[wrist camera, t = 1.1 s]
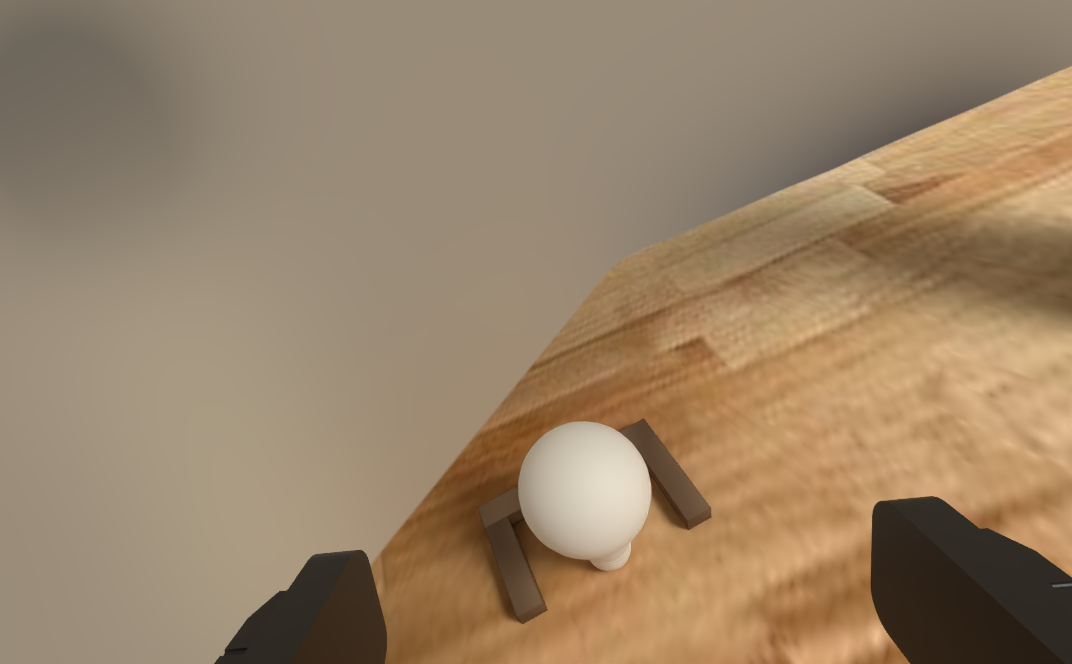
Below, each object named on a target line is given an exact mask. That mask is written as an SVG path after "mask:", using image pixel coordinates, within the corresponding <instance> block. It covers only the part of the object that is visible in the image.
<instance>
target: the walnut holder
mask: <svg viewBox="0 0 1072 664" xmlns="http://www.w3.org/2000/svg"><path fill="white" fill-rule="evenodd" d="M619 432H620V433H621V434H622V435H624V436H625V437H626V438H627V439H628V440H629V441H630V442H631V443H633V445H634V446H635V448H636V449H637V450H638V452H639V453H640V454H641V456H642V457H643V460H644V462H645V464H646V466H647V468H648V471H649V473H650V474H651V476H652V477H653V479H654V480H655V482H656V483H657V485H658V486H659V487H660V489H661V490H662V492H663V493H664V495H665V496H666V498H667V499H668V501H669V502H670V503H671V505H672V506H673V508H674V509H675V511H676V512H677V514H678V515H679V517H680V518H681V519H682V521H683V522H684V524H685V525H686V527H687V528H688V530H689V529H691V528H693V527H695V526H697V525H698V524H700V523H702V522H704V521H705V520H707V519H709V518H711V507H710V506H709V505H708V503H707V502H706V501H705V499H704V498H703V497H702V495H701V494H700V493H699V491H698V490H697V489H696V487H695V486H694V485H693V483H692V482H691V481H690V479H689V478H688V477H687V475H686V474H685V473H684V471H683V470H682V469H681V467H680V466H679V465H678V463H677V462H676V461H675V459H674V458H673V457H672V455H671V454H670V453H669V451H668V450H667V449H666V447H665V446H664V445H663V443H662V442H661V441H660V439H659V438H658V437H657V435H656V434H655V433H654V431H653V430H652V429H651V427H650V426H649V425H648V423H647V422H646V421H645V419H642V420H640V421H638V422H636V423H634V424H632V425H631V426H629V427H627V428H625V429H623V430H621V431H619ZM477 508H478V510H479V513H480V516H481V519H482V522H483V524H484V527H485V530H486V533H487V535H488V538H489V541H490V544H491V547H492V549H493V552H494V555H495V558H496V561H497V563H498V566H499V569H500V572H501V574H502V577H503V580H504V583H505V586H506V588H507V591H508V594H509V597H510V599H511V602H512V605H513V608H514V611H515V613H516V616H517V618H518V619H519V620H520V621H521V622H522V623H523V624H524V623H526V622H527V621H529V620H531V619H533V618H534V617H536V616H538V615H540V614H541V613H543V612H545V611H547V607H546V605H545V602H544V600H543V597H542V595H541V593H540V590H539V588H538V585H537V583H536V580H535V578H534V575H533V573H532V570H531V568H530V566H529V563H528V561H527V558H526V556H525V553H524V551H523V548H522V546H521V543H520V541H519V538H518V536H517V534H516V531H515V529H514V526H513V524H514V523H516V522H518V521H520V520H521V519H523V518H524V516H523V514H522V511H521V506H520V502H519V496H518V486H516V487H515V488H513V489H511V490H509V491H507V492H505V493H503V494H501V495H500V496H498V497H496V498H494V499H492V500H490V501H488V502H486V503H485V504H483V505H481V506H479V507H477Z"/></svg>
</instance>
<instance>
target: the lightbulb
mask: <svg viewBox="0 0 1072 664" xmlns="http://www.w3.org/2000/svg"><path fill="white" fill-rule="evenodd" d="M518 496H519V502H520V506H521V511H522V514H523V516H524V518H525V521H526V523H527V525H528V526H529V528H530V529H531V531H532V532H533V533H534V535H535V536H536V537H537V538H538V539H539V540H540V541H541V542H542V543H543V544H544V545H546V546H547V547H548V548H550V549H552V550H554V551H556V552H558V553H559V554H561V555H563V556H566V557H570V558H574V559H582V560H590V562H591V563H592V564H593V565H594V566H595V567H597V568H599V569H601V570H604V571H613V570H616V569H619V568H620V567H622V566H623V565H624V564H625V563H626V562H627V560H628V558H629V556H630V552H631V543H630V542H631V541H632V540H633V539H634V538H635V537H636V535H637V534H638V533H639V531H640V530H641V529H642V527H643V524H644V522H645V520H646V518H647V515H648V511H649V507H650V502H651V482H650V478H649V473H648V468H647V466H646V464H645V462H644V460H643V457H642V456H641V454H640V453H639V452H638V450H637V449H636V448H635V446H634V445H633V443H631V442H630V441H629V440H628V439H627V438H626V437H625V436H624V435H622V434H621V433H620V432H618V431H616V430H615V429H613V428H611V427H609V426H606V425H603V424H600V423H594V422H587V421H581V422H571V423H566V424H563V425H560V426H558V427H556V428H554V429H552V430H550V431H548V432H547V433H546V434H544V435H543V436H542V437H541V438H540V439H539V440H538V441H537V442H536V443H535V444H534V445H533V446H532V448H531V449H530V450H529V452H528V454H527V455H526V457H525V459H524V462H523V464H522V467H521V471H520V476H519V482H518Z"/></svg>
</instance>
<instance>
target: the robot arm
mask: <svg viewBox="0 0 1072 664" xmlns="http://www.w3.org/2000/svg"><path fill="white" fill-rule="evenodd" d="M871 593H872V598H873V602H874V606H875V609H876V612H877V614H878V617H879V619H880V621H881V623H882V625H883V627H884V628H885V630H886V632H887V633H888V635H889V636H890V637H891V639H892V640H893V641H894V643H895V644H896V645H897V647H898V648H899V649H900V651H901V652H902V653H903V654H904V656H905V657H906V658H907V660H908V661H909V662H910V664H1072V577H1070V576H1069V575H1068V574H1066V573H1065V572H1064V571H1062V570H1061V569H1059V568H1058V567H1057V566H1055V565H1054V564H1053V563H1051V562H1050V561H1049V560H1047V559H1046V558H1045V557H1043V556H1042V555H1040V554H1039V553H1038V552H1036V551H1035V550H1033V549H1030V548H1028V547H1026V546H1024V545H1022V544H1020V543H1018V542H1016V541H1013V540H1011V539H1009V538H1007V537H1005V536H1003V535H1001V534H999V533H997V532H994V531H992V530H990V529H988V528H985V529H979V528H978V527H977V526H976V525H974V524H973V523H972V522H970V521H969V520H968V519H967V518H965V517H964V516H963V515H961V514H960V513H959V512H958V511H956V510H955V509H954V508H953V507H951V506H950V505H949V504H947V503H946V502H945V501H943V500H942V499H940V498H938V497H934V496H929V497H919V498H908V499H898V500H888V501H879V502H877V504H876V505H875V506H874V509H873V514H872V550H871ZM386 650H387V633H386V626H385V622H384V618H383V614H382V610H381V606H380V602H379V598H378V594H377V590H376V586H375V582H374V578H373V575H372V571H371V567H370V563H369V560H368V557H367V555H366V554H365V553H364V551H362V550H355V551H344V552H334V553H323V554H316V555H313V556H312V557H311V558H310V559H309V560H308V561H307V563H306V564H305V566H304V567H303V569H302V570H301V571H300V573H299V574H298V576H297V577H296V579H295V580H294V582H293V583H292V585H291V586H290V588H289V589H288V590H287V591H279V592H278V593H277V594H276V595H275V596H274V597H272V598H271V599H270V600H269V601H267V602H266V603H265V604H264V605H263V606H262V607H260V608H259V609H258V610H257V611H256V612H255V613H253V614H252V615H251V616H250V617H249V618H248V619H247V620H246V622H245V623H244V624H243V626H242V627H241V628H240V630H239V631H238V632H237V634H236V635H235V636H234V638H233V639H232V641H231V642H230V643H229V645H228V646H227V647H226V649H225V654H224V656H220V657H219V658H218V659H217V661H216V662H215V664H384V663H385V658H386Z"/></svg>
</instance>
